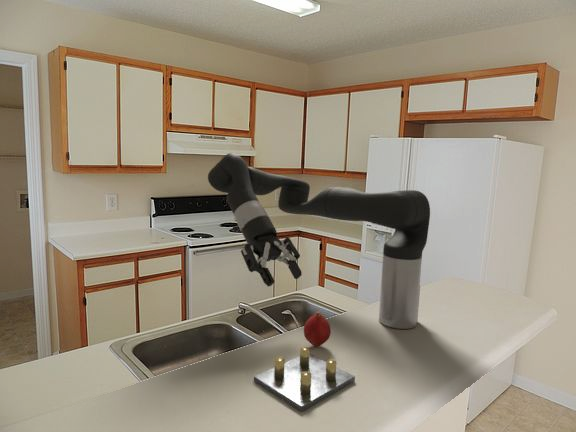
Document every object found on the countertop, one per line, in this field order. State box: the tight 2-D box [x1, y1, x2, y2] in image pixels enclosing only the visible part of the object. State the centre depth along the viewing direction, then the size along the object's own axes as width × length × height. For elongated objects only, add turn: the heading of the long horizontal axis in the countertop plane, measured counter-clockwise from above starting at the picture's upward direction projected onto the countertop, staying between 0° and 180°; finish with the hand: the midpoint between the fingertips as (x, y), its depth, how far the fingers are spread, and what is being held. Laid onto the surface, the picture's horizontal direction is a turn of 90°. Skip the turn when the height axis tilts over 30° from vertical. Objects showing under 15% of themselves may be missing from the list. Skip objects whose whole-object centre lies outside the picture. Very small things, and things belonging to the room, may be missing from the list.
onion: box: [303, 311, 332, 348], centre depth 89 cm, size 6×6×8 cm
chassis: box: [253, 346, 356, 413], centre depth 75 cm, size 14×12×4 cm
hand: (285, 280), depth 94 cm, fingers open, 8 cm apart
